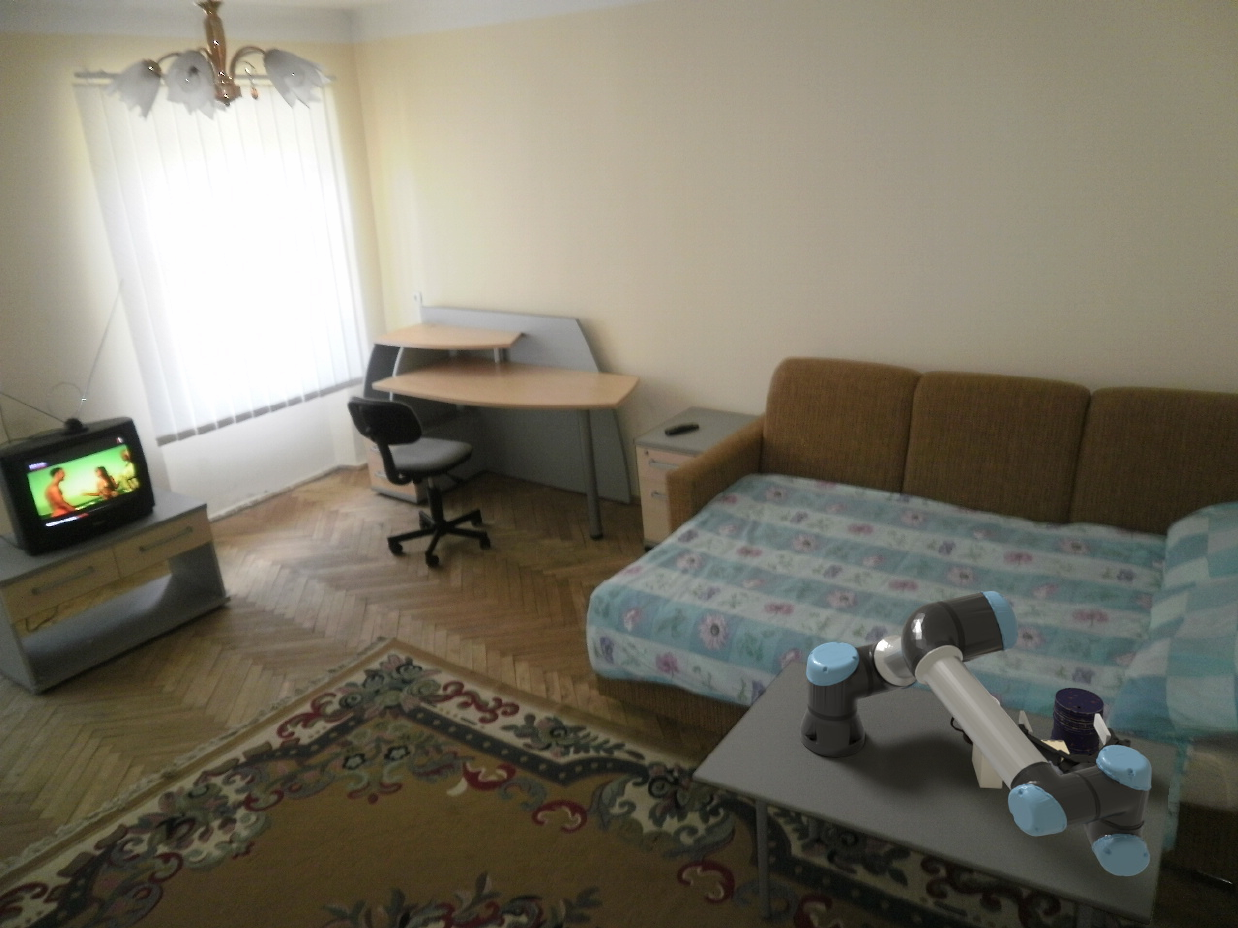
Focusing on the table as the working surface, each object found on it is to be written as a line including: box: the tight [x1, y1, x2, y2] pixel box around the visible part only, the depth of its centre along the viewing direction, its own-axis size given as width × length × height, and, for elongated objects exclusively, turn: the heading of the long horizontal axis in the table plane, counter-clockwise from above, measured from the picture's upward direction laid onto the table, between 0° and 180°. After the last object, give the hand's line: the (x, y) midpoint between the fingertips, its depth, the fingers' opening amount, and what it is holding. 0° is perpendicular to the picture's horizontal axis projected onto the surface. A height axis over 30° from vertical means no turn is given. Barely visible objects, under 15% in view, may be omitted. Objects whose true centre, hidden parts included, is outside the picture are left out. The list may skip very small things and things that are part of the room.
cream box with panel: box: [971, 743, 1004, 789], centre depth 196 cm, size 4×9×11 cm, turn 170°
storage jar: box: [1050, 687, 1105, 756], centre depth 199 cm, size 10×10×15 cm
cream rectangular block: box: [1040, 738, 1070, 761], centre depth 189 cm, size 4×6×11 cm
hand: (1058, 717), depth 173 cm, fingers open, 13 cm apart
